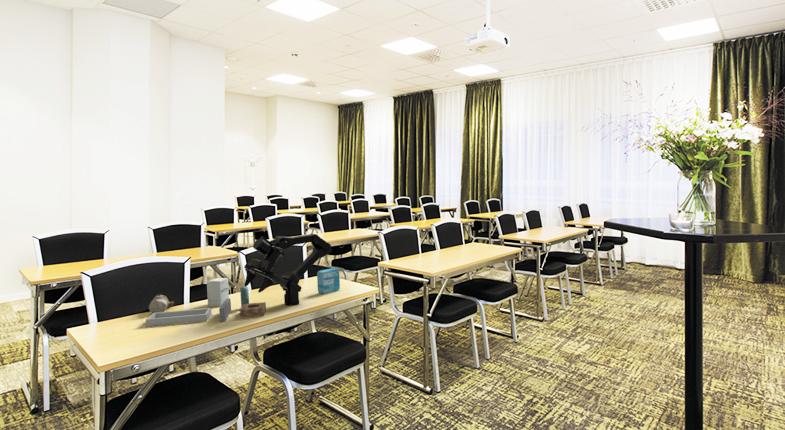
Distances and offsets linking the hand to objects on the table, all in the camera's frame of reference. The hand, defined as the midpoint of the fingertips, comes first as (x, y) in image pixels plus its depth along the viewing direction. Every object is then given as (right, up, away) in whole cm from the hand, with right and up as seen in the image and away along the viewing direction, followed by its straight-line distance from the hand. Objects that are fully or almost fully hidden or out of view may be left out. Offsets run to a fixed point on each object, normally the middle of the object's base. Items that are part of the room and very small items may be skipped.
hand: (251, 289), depth 191 cm
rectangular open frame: (-30, -13, -6) cm, 33 cm away
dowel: (-6, -11, +10) cm, 16 cm away
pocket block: (+1, -12, 0) cm, 12 cm away
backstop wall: (-11, -12, -2) cm, 16 cm away
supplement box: (-22, -11, +18) cm, 31 cm away
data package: (+30, -8, +37) cm, 48 cm away
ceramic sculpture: (-47, -12, +10) cm, 50 cm away
